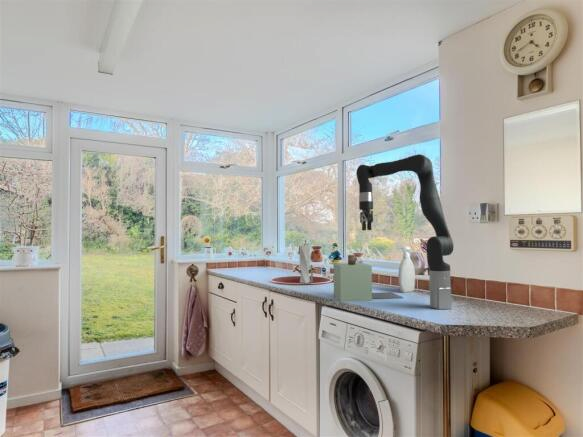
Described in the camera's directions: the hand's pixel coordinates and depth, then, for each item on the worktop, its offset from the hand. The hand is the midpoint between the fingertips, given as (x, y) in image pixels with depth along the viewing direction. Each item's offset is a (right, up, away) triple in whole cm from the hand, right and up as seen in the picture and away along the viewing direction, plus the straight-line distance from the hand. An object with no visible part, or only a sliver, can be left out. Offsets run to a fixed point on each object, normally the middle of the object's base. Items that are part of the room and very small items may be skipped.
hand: (366, 230), depth 212 cm
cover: (-9, -36, -5) cm, 38 cm away
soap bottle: (+26, -37, +15) cm, 48 cm away
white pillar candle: (-32, -39, +57) cm, 76 cm away
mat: (+9, -37, +1) cm, 37 cm away
